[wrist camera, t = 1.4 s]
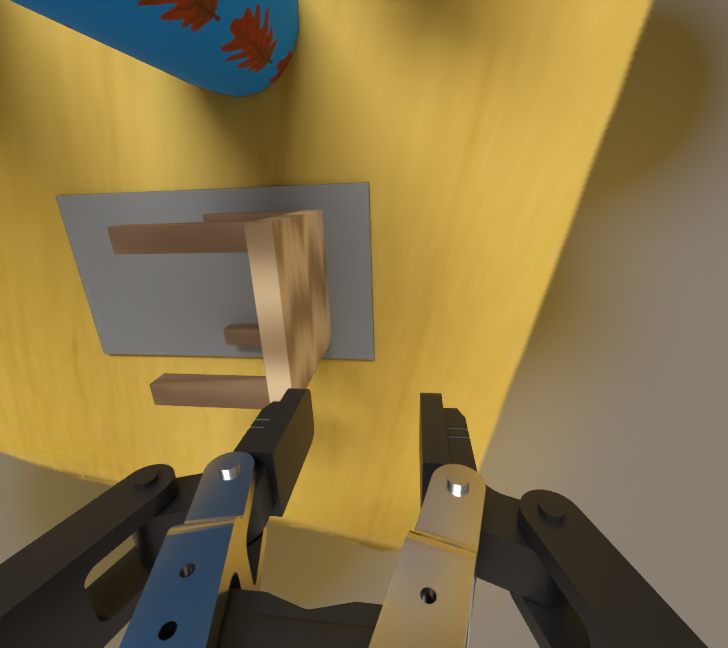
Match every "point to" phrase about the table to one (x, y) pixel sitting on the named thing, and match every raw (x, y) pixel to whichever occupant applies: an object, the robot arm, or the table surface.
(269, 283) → the stool
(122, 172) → the table surface
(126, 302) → the mat
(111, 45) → the thermos
